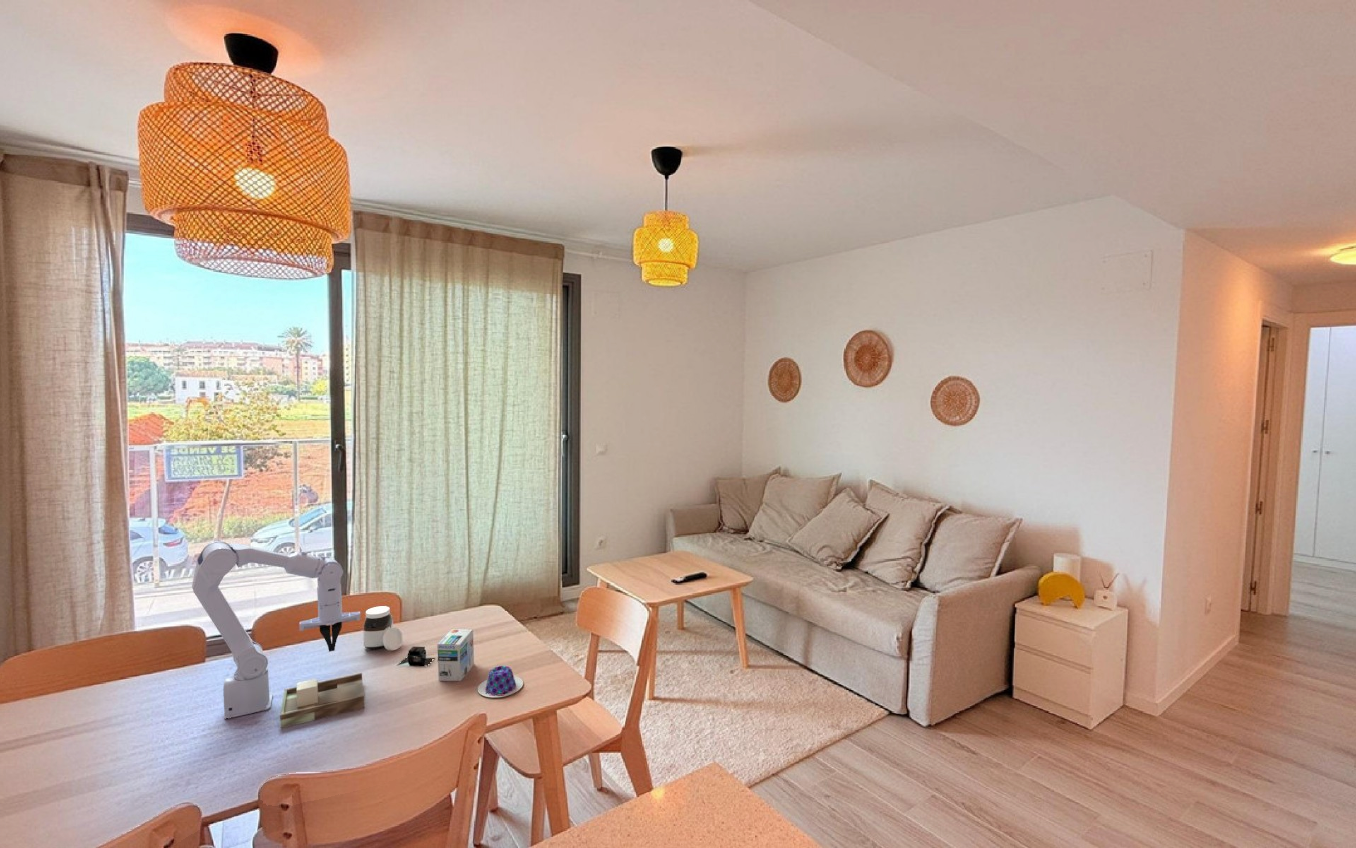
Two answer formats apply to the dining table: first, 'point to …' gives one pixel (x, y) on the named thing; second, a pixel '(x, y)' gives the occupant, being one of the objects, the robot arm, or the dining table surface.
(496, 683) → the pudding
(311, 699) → the cream block
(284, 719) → the brown shallow open box
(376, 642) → the spread jar
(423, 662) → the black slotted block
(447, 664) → the light bulb box
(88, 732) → the dining table surface
